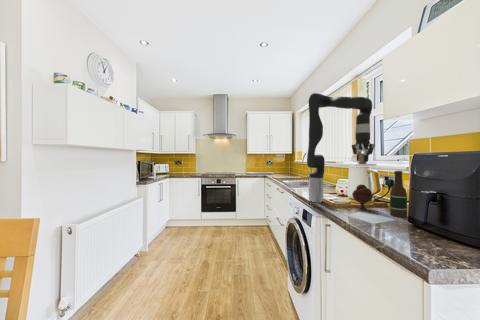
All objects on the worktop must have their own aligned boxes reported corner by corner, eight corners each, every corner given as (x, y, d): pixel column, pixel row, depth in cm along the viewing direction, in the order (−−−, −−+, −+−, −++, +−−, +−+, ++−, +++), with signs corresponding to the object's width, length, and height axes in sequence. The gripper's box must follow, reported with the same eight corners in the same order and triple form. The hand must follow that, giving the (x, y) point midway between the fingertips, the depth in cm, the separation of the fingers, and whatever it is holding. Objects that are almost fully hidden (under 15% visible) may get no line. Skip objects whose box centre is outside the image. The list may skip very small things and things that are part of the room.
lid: (343, 164, 132) (343, 153, 132) (360, 164, 137) (360, 153, 137) (364, 166, 119) (364, 153, 119) (382, 165, 124) (382, 153, 124)
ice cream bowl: (348, 209, 133) (347, 184, 133) (360, 207, 137) (360, 183, 137) (364, 213, 123) (364, 186, 123) (377, 210, 128) (377, 185, 128)
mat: (342, 215, 118) (342, 214, 118) (363, 212, 124) (363, 211, 124) (373, 225, 101) (373, 223, 101) (396, 221, 107) (396, 219, 107)
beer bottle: (393, 214, 120) (393, 170, 120) (410, 217, 114) (410, 171, 114) (386, 216, 116) (386, 170, 116) (403, 219, 110) (403, 171, 109)
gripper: (347, 133, 133) (347, 161, 133) (369, 130, 120) (368, 162, 120) (357, 133, 136) (356, 161, 136) (378, 131, 122) (378, 162, 123)
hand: (362, 161), depth 128 cm, fingers closed on lid, 4 cm apart
